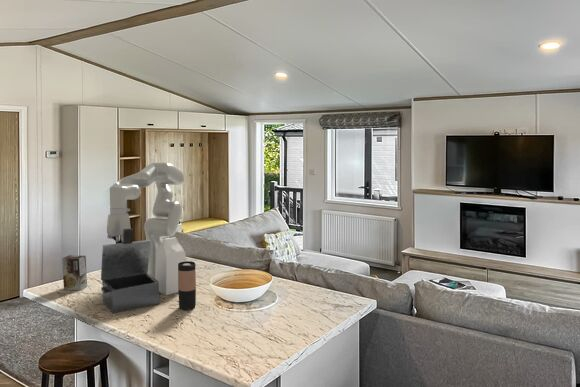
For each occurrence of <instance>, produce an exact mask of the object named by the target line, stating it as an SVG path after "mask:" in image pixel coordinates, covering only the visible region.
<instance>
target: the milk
mask: <svg viewBox="0 0 580 387" xmlns="http://www.w3.org/2000/svg"><path fill="white" fill-rule="evenodd" d="M163 240H164V241H163V244H162V246H161V247H160V248H159V249H158V251H157V252H156V264H155V278H154V279H156V280H157V281H158V283H159V293H162V294H163V295H165V296H167V295H172V294H175V293H178V263H180V262H185V261H187V256H186V255H187V254H186V252H185V250H184V248H183V247H182V246H181V243H180V242H179V241H178V240H179V239H178V238H177V237H176V236H175V237H174V236H172V237H166V238H164V239H163Z"/></svg>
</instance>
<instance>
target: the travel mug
mask: <svg viewBox="0 0 580 387" xmlns="http://www.w3.org/2000/svg"><path fill="white" fill-rule="evenodd" d="M196 273H197V272H196V261H195V262H194V261H188V260H186V261H185V262H180V263H178V292H177V293H178V309H179V310H181V309H182V310H181V311H190V309H191V310H194V309H195V308H196V307H195V306H197V304H196V303H197V283H196V282H197V281H196V280H197V277H196ZM193 308H194V309H193Z"/></svg>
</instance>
